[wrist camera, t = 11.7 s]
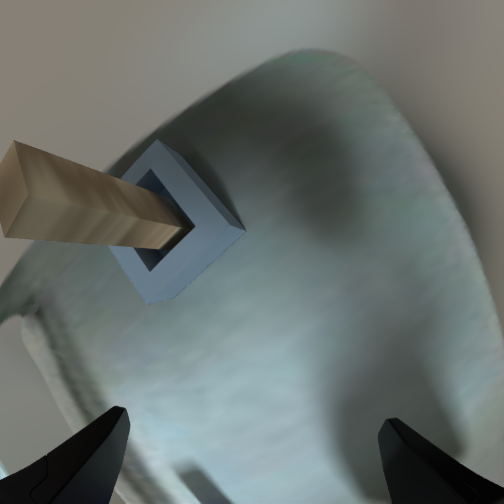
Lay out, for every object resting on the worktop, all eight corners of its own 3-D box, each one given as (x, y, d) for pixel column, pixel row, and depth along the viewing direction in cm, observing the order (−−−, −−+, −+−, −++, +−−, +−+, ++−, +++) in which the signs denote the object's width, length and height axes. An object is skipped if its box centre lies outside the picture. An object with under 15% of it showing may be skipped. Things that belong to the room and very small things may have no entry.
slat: (194, 230, 20) (28, 194, 7) (174, 250, 20) (4, 237, 7) (170, 198, 20) (13, 140, 8) (151, 218, 20) (-9, 180, 8)
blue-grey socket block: (246, 231, 19) (230, 225, 16) (173, 298, 20) (146, 304, 17) (181, 155, 21) (157, 138, 17) (120, 220, 22) (90, 214, 18)
